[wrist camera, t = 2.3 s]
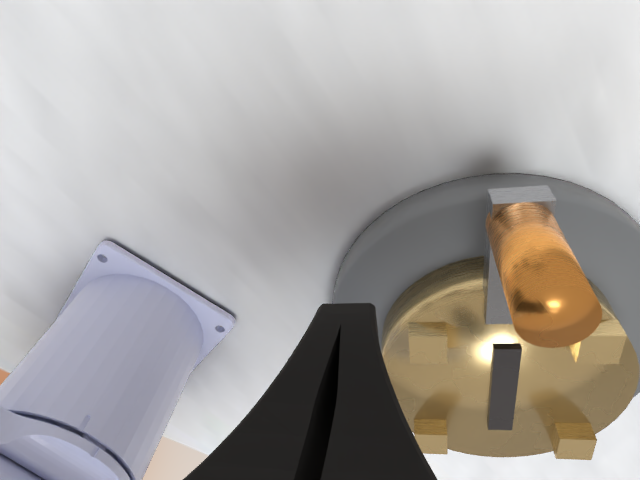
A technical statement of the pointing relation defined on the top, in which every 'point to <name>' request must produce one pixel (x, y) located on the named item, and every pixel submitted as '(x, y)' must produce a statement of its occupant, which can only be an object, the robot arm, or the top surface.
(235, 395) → the top surface
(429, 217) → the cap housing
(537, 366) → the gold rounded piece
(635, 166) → the top surface
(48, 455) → the robot arm
